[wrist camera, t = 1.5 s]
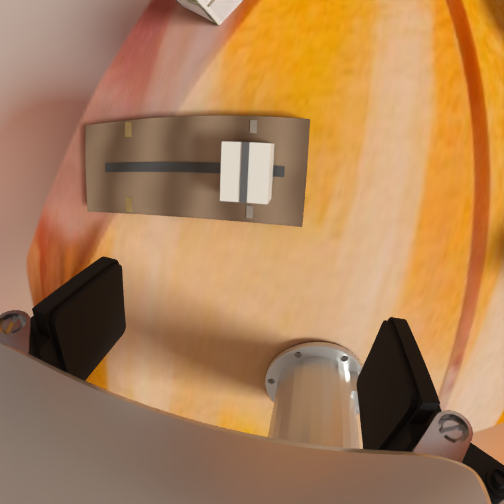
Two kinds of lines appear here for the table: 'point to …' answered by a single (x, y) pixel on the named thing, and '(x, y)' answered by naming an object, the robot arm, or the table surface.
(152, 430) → the robot arm
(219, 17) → the syrup box
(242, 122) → the fader board
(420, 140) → the table surface
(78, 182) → the table surface
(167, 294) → the table surface
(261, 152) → the fader knob
